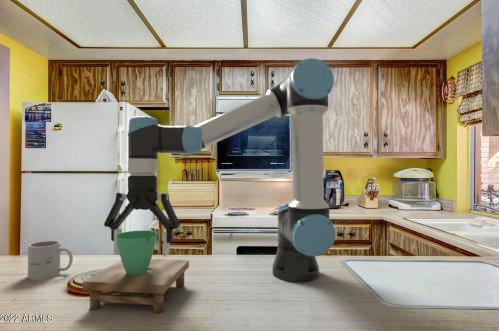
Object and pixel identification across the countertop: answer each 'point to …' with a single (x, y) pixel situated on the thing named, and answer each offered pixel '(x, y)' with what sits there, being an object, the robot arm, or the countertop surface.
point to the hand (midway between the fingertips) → (141, 254)
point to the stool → (136, 283)
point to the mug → (46, 259)
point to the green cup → (136, 250)
